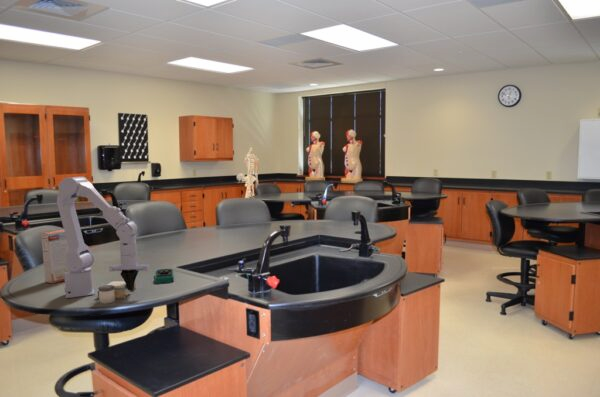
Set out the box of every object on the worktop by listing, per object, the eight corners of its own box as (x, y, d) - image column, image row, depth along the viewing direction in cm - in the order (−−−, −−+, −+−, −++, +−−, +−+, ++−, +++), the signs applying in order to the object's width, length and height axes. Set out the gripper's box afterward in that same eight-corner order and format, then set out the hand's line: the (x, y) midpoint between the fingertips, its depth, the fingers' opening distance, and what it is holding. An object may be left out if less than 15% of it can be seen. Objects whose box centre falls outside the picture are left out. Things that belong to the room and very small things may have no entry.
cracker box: (75, 274, 205) (72, 227, 203) (83, 276, 202) (80, 228, 200) (44, 282, 194) (40, 232, 192) (52, 284, 190) (48, 233, 188)
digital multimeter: (173, 274, 204) (172, 267, 204) (173, 282, 190) (173, 275, 189) (155, 275, 202) (155, 269, 202) (155, 284, 188) (154, 277, 187)
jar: (99, 304, 162) (98, 290, 162) (99, 300, 167) (98, 286, 166) (115, 302, 164) (114, 287, 164) (114, 298, 169) (113, 284, 169)
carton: (105, 296, 172) (104, 286, 172) (112, 291, 179) (112, 281, 178) (124, 296, 172) (123, 285, 171) (131, 291, 178) (130, 281, 178)
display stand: (98, 298, 170) (97, 291, 169) (111, 289, 181) (110, 283, 180) (124, 297, 169) (123, 291, 169) (135, 289, 180) (135, 282, 180)
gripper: (151, 251, 177) (153, 286, 178) (114, 252, 178) (116, 286, 179) (144, 255, 170) (146, 291, 171) (105, 256, 171) (108, 292, 172)
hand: (130, 289), depth 175 cm, fingers closed
